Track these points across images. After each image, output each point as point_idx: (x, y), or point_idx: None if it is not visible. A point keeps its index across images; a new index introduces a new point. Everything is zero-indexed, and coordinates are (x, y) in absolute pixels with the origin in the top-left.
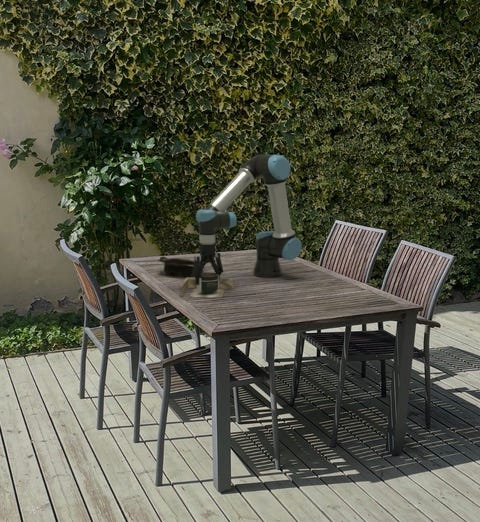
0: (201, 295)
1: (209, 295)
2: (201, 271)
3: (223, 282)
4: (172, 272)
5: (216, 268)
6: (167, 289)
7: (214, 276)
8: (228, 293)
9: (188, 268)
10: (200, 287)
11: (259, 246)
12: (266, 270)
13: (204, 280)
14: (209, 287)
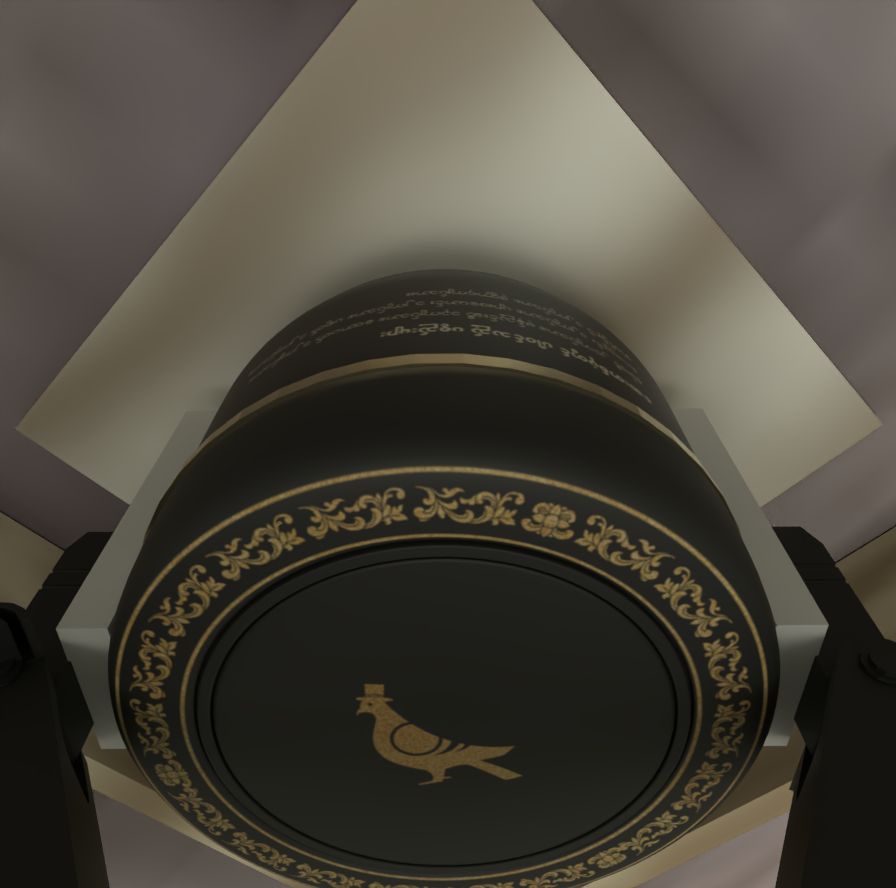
0: (682, 343)
1: (561, 243)
2: (851, 836)
3: None
4: None
5: (42, 859)
6: (704, 861)
7: (416, 445)
8: (67, 181)
9: None
10: (719, 461)
11: None
12: None
13: (722, 503)
14: (578, 318)
